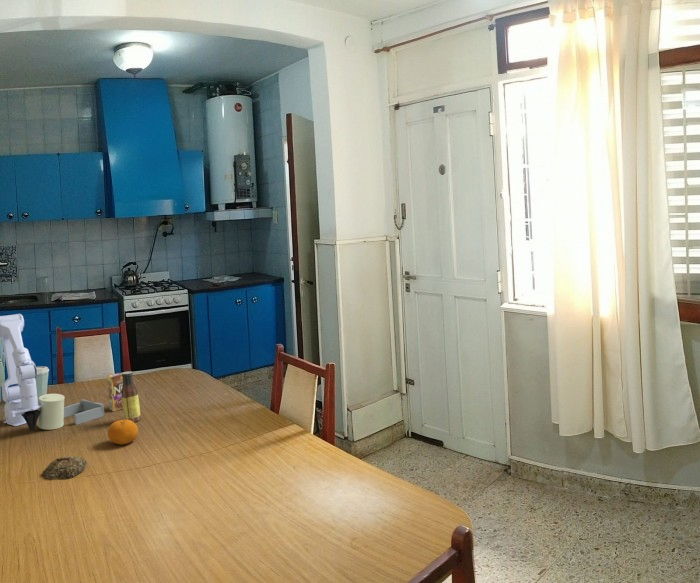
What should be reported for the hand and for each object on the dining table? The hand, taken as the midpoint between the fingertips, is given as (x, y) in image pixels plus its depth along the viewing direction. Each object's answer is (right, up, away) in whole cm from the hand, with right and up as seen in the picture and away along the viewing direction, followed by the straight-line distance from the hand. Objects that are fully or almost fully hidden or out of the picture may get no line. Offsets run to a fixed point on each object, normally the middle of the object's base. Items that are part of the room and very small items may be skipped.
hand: (32, 429), depth 240 cm
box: (+11, +1, +17) cm, 20 cm away
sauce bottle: (+35, +1, +10) cm, 36 cm away
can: (+4, 0, +6) cm, 8 cm away
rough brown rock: (+30, -6, -38) cm, 49 cm away
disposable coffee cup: (-20, +4, +45) cm, 50 cm away
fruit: (+40, -2, -14) cm, 43 cm away
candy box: (+25, +3, +27) cm, 37 cm away
